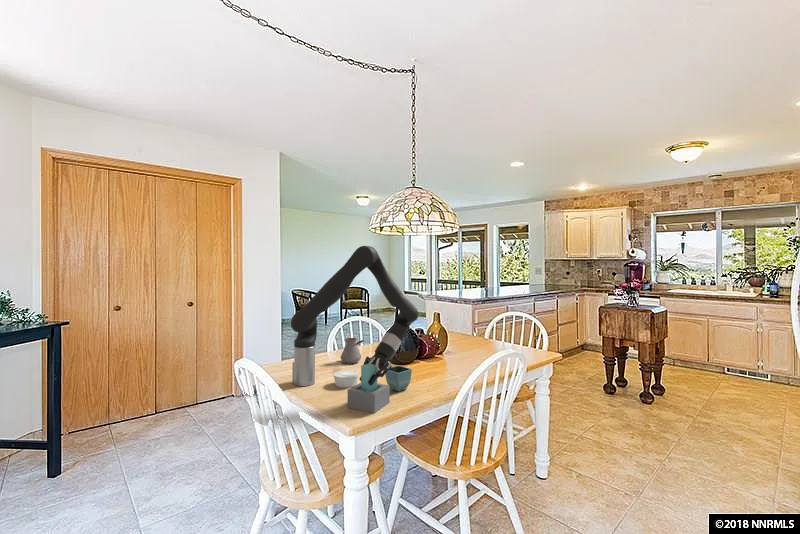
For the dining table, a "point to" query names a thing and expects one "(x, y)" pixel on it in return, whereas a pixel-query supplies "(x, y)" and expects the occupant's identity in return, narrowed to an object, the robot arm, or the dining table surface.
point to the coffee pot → (351, 351)
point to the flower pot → (398, 377)
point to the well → (368, 398)
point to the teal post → (367, 377)
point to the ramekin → (346, 378)
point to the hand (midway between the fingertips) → (365, 382)
